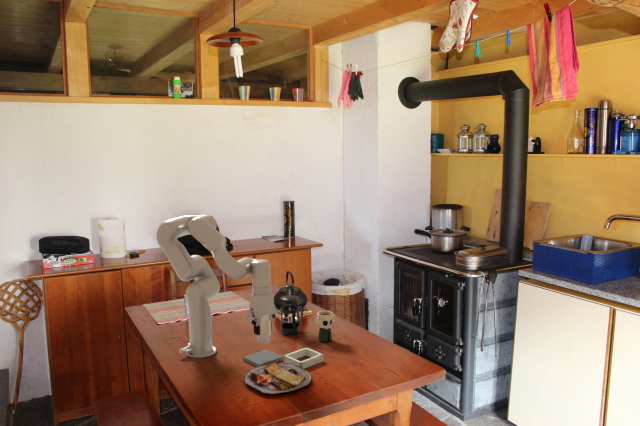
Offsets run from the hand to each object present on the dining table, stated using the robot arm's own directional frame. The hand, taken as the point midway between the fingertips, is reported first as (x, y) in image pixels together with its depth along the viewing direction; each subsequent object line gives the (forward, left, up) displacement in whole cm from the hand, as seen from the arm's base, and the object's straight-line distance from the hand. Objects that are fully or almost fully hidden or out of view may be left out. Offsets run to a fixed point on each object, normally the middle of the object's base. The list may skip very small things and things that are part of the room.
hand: (263, 332), depth 227 cm
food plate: (-8, -19, -13) cm, 25 cm away
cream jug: (0, -1, -4) cm, 4 cm away
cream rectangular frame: (+11, -13, -12) cm, 21 cm away
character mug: (+34, -2, -12) cm, 36 cm away
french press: (+30, +17, -12) cm, 37 cm away
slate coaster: (0, 0, -12) cm, 12 cm away
